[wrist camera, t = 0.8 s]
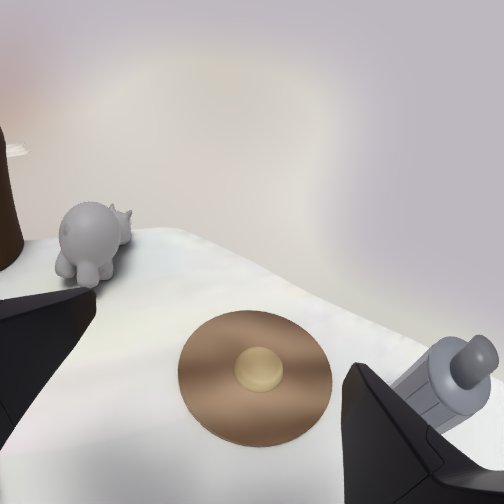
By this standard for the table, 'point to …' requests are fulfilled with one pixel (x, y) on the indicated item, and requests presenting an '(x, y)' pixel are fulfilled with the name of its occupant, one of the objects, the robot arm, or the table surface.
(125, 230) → the chubby cartoon animal
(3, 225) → the olive oil
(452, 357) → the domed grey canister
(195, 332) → the cheese board
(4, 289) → the table surface
